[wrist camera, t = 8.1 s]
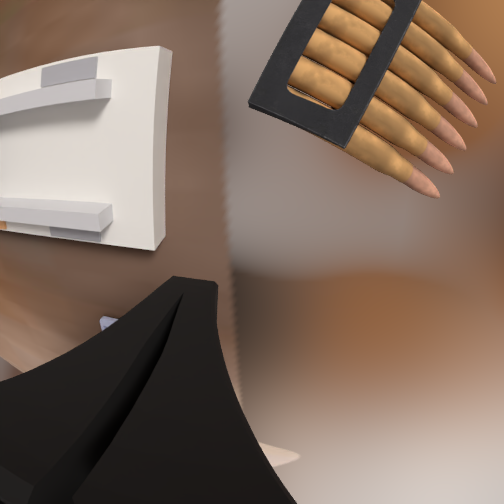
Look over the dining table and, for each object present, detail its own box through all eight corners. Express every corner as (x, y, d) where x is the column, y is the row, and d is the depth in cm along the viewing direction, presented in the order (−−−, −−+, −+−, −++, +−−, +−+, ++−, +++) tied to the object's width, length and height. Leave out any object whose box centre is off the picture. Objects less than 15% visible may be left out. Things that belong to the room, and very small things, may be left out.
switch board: (165, 235, 18) (144, 264, 15) (-14, 216, 19) (-41, 233, 15) (172, 51, 13) (147, 40, 10) (-24, 92, 13) (-55, 99, 10)
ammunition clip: (247, 105, 14) (424, 204, 17) (245, 105, 13) (438, 216, 15) (330, -45, 10) (490, 72, 12) (338, -58, 8) (508, 72, 10)
